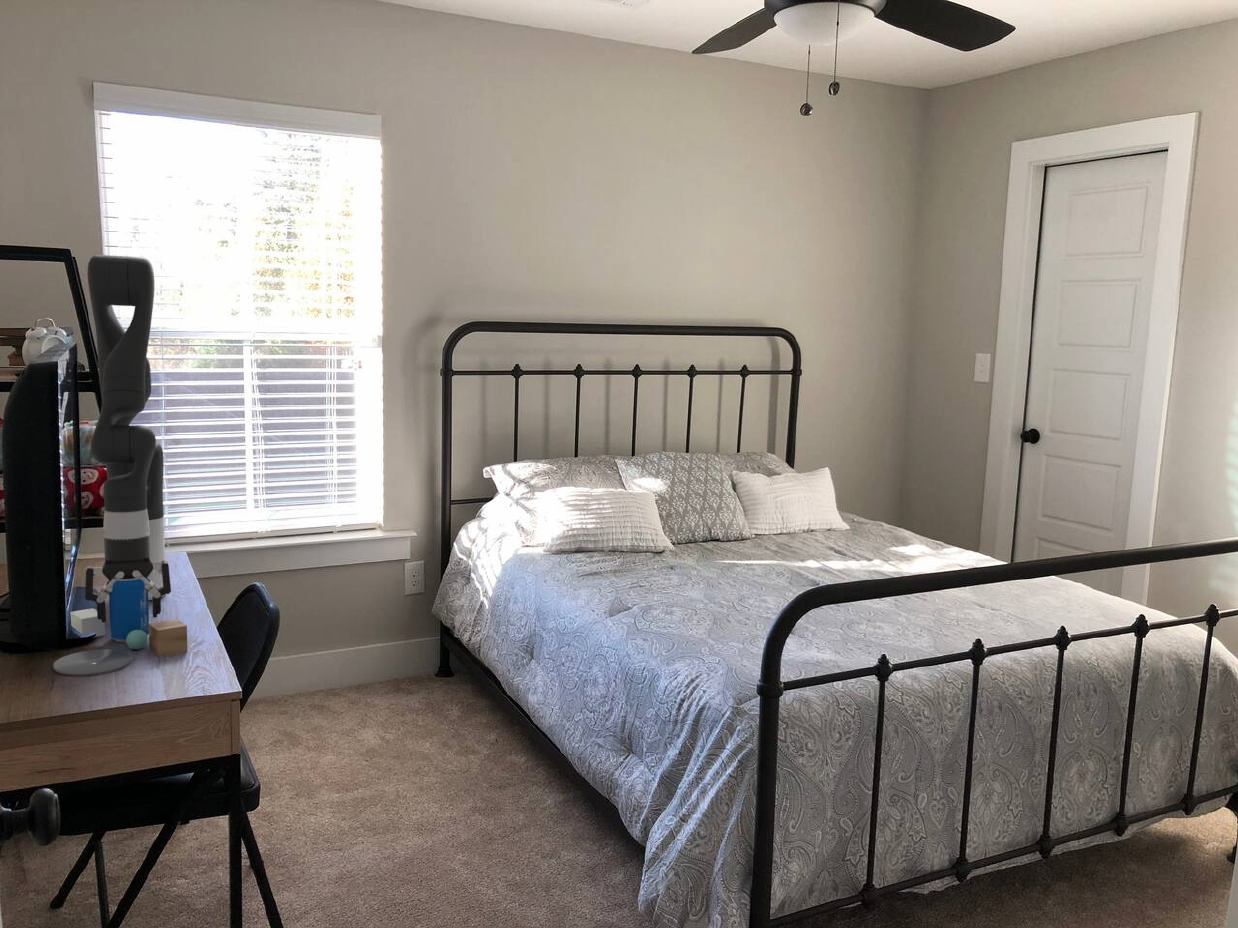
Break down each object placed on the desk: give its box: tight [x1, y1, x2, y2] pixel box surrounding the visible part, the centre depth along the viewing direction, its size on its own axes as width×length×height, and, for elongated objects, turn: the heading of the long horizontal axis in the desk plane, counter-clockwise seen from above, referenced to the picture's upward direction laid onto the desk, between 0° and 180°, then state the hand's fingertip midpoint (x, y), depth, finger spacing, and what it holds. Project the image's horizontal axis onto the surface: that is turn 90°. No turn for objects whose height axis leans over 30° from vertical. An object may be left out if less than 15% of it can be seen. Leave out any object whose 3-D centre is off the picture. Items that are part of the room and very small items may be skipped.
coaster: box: [53, 648, 133, 677], centre depth 174 cm, size 12×12×1 cm
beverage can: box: [108, 577, 150, 644], centre depth 187 cm, size 6×6×12 cm
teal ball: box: [126, 630, 149, 650], centre depth 182 cm, size 4×4×4 cm
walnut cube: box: [148, 618, 188, 658], centre depth 182 cm, size 5×5×5 cm
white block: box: [69, 607, 106, 638], centre depth 190 cm, size 6×4×4 cm, turn 46°
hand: (129, 618), depth 187 cm, fingers open, 8 cm apart
